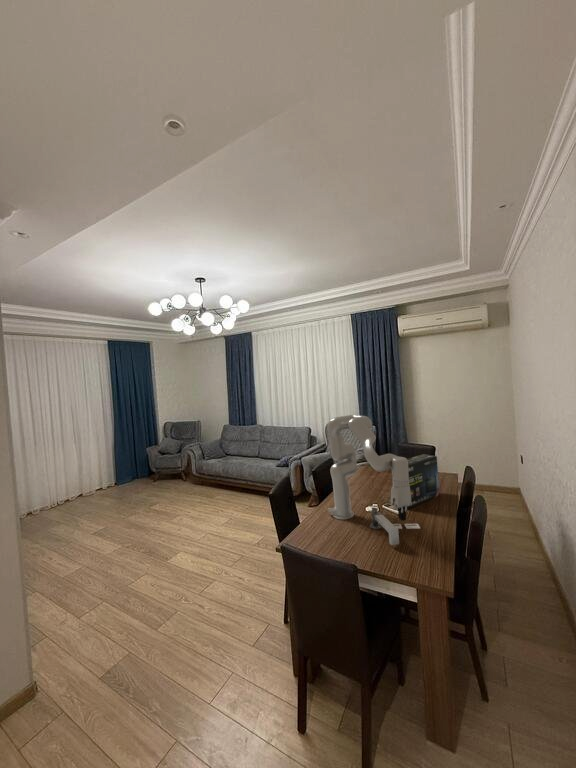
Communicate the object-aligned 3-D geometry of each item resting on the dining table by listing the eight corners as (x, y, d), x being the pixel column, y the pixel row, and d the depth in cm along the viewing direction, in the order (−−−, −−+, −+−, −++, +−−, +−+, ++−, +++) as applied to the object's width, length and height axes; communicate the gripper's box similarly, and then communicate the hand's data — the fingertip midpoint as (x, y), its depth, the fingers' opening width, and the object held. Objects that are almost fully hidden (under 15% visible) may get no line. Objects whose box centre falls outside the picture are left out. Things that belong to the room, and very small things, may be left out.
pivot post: (370, 529, 163) (369, 510, 163) (369, 524, 169) (368, 506, 169) (382, 529, 162) (380, 510, 162) (380, 524, 168) (379, 506, 168)
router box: (408, 510, 183) (404, 466, 183) (392, 505, 192) (389, 463, 193) (441, 495, 203) (437, 455, 203) (425, 491, 212) (422, 453, 212)
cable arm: (373, 526, 163) (372, 512, 163) (381, 525, 164) (379, 511, 164) (390, 545, 143) (389, 530, 143) (399, 544, 144) (398, 528, 144)
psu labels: (388, 528, 162) (388, 527, 162) (387, 524, 167) (387, 523, 167) (420, 528, 160) (420, 527, 160) (417, 524, 165) (417, 523, 165)
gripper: (404, 477, 157) (406, 512, 157) (384, 483, 149) (385, 520, 150) (417, 481, 150) (418, 518, 151) (396, 488, 143) (398, 526, 143)
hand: (402, 519), depth 150 cm, fingers closed
